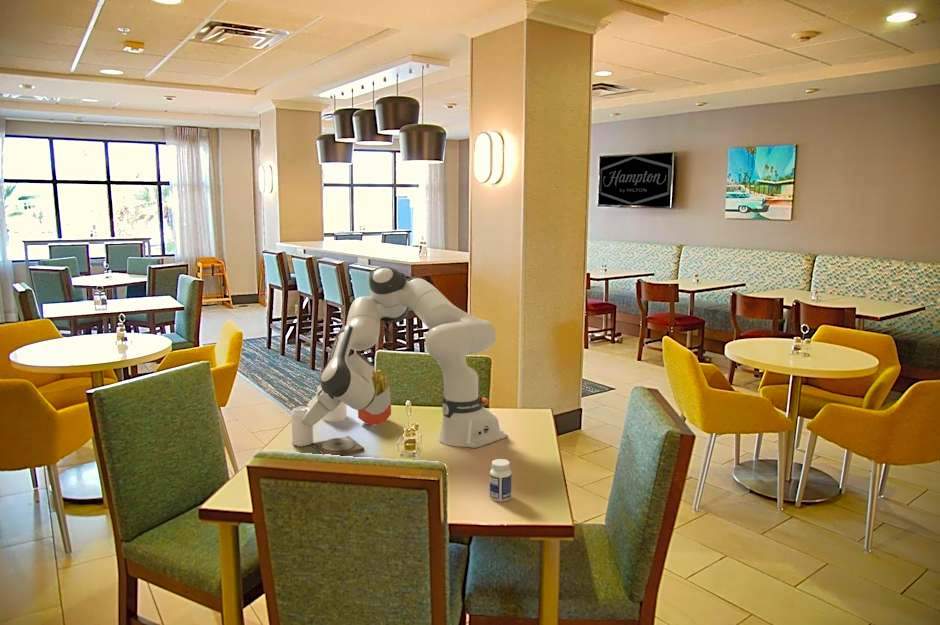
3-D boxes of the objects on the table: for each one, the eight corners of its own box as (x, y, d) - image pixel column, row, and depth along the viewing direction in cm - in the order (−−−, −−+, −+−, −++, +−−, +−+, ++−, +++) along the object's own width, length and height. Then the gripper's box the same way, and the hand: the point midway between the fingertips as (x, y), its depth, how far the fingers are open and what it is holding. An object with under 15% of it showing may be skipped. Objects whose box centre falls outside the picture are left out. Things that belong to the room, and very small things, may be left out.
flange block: (348, 439, 221) (348, 434, 221) (364, 450, 211) (364, 445, 211) (313, 446, 214) (313, 441, 214) (327, 458, 205) (327, 453, 204)
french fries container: (391, 421, 238) (391, 371, 235) (365, 427, 231) (364, 376, 228) (384, 417, 242) (383, 368, 239) (358, 424, 235) (357, 374, 232)
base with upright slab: (329, 412, 248) (328, 380, 246) (351, 414, 245) (350, 382, 243) (316, 419, 239) (315, 386, 237) (338, 422, 236) (338, 389, 234)
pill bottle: (510, 492, 183) (510, 457, 181) (512, 502, 177) (512, 466, 175) (488, 493, 182) (489, 457, 181) (490, 502, 177) (490, 466, 175)
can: (307, 448, 213) (306, 412, 210) (288, 446, 214) (287, 410, 212) (316, 440, 219) (315, 404, 216) (297, 438, 220) (296, 403, 218)
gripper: (327, 377, 224) (297, 406, 225) (319, 396, 204) (287, 428, 205) (340, 390, 226) (311, 419, 227) (334, 410, 206) (302, 441, 207)
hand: (300, 423), depth 216 cm, fingers closed on can, 4 cm apart
